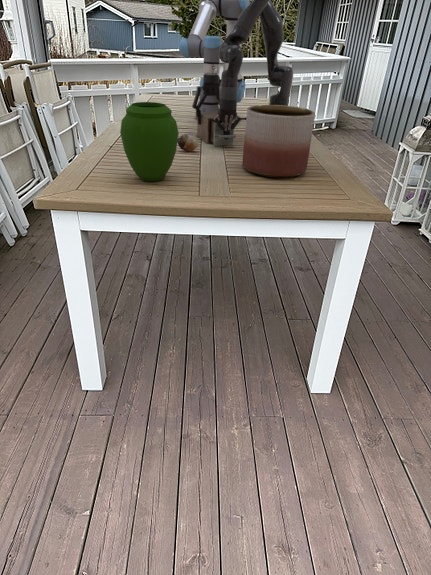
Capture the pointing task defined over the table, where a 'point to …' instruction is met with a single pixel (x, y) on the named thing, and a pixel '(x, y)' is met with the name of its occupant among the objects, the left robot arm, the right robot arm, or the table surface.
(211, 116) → the long brown box
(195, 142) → the seashell
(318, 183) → the table surface
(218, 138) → the drawer
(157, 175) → the vase
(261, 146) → the planter
